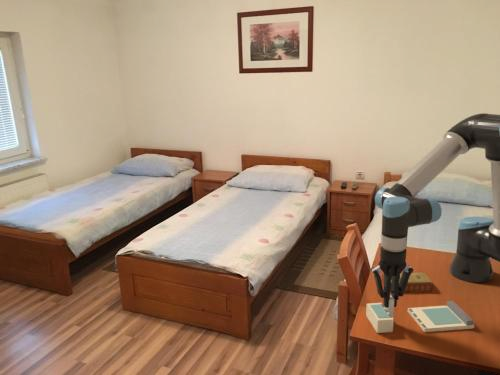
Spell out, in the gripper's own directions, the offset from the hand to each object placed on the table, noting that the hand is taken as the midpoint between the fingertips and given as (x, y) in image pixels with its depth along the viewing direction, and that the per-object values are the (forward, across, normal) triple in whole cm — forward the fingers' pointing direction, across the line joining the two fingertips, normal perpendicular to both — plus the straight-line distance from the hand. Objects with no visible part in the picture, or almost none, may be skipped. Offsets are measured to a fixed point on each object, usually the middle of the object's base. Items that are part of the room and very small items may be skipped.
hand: (389, 315), depth 137 cm
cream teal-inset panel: (+3, -17, 0) cm, 17 cm away
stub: (+3, +3, 0) cm, 4 cm away
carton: (+3, -16, -23) cm, 28 cm away
